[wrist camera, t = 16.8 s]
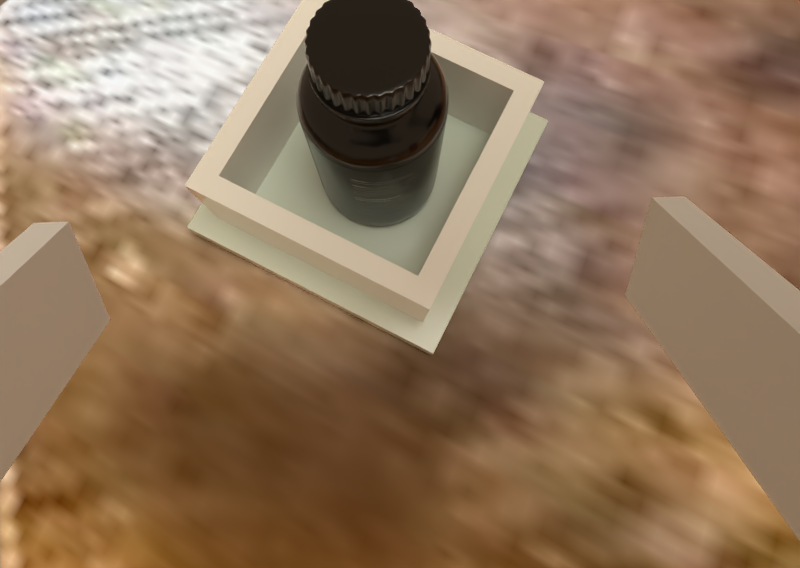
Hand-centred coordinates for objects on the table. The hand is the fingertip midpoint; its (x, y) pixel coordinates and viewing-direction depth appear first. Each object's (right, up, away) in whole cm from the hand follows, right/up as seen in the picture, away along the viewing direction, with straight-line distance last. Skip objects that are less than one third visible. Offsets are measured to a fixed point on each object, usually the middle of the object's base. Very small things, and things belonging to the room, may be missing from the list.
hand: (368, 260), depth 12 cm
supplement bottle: (-1, +6, +19) cm, 20 cm away
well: (-1, +6, +20) cm, 21 cm away
